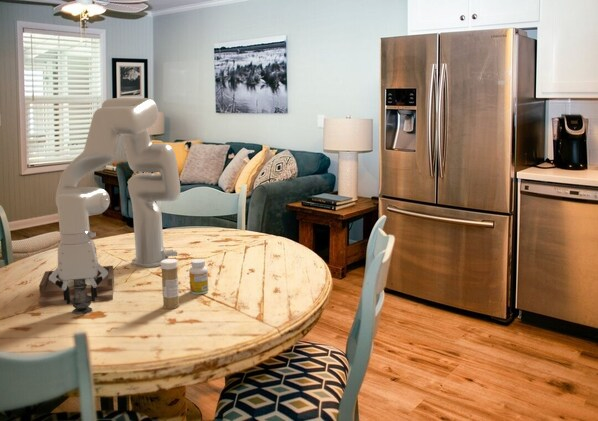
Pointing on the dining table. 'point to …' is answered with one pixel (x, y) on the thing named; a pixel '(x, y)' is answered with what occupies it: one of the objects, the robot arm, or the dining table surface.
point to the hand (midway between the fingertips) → (81, 300)
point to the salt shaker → (80, 298)
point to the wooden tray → (55, 296)
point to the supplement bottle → (198, 277)
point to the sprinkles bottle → (170, 283)
